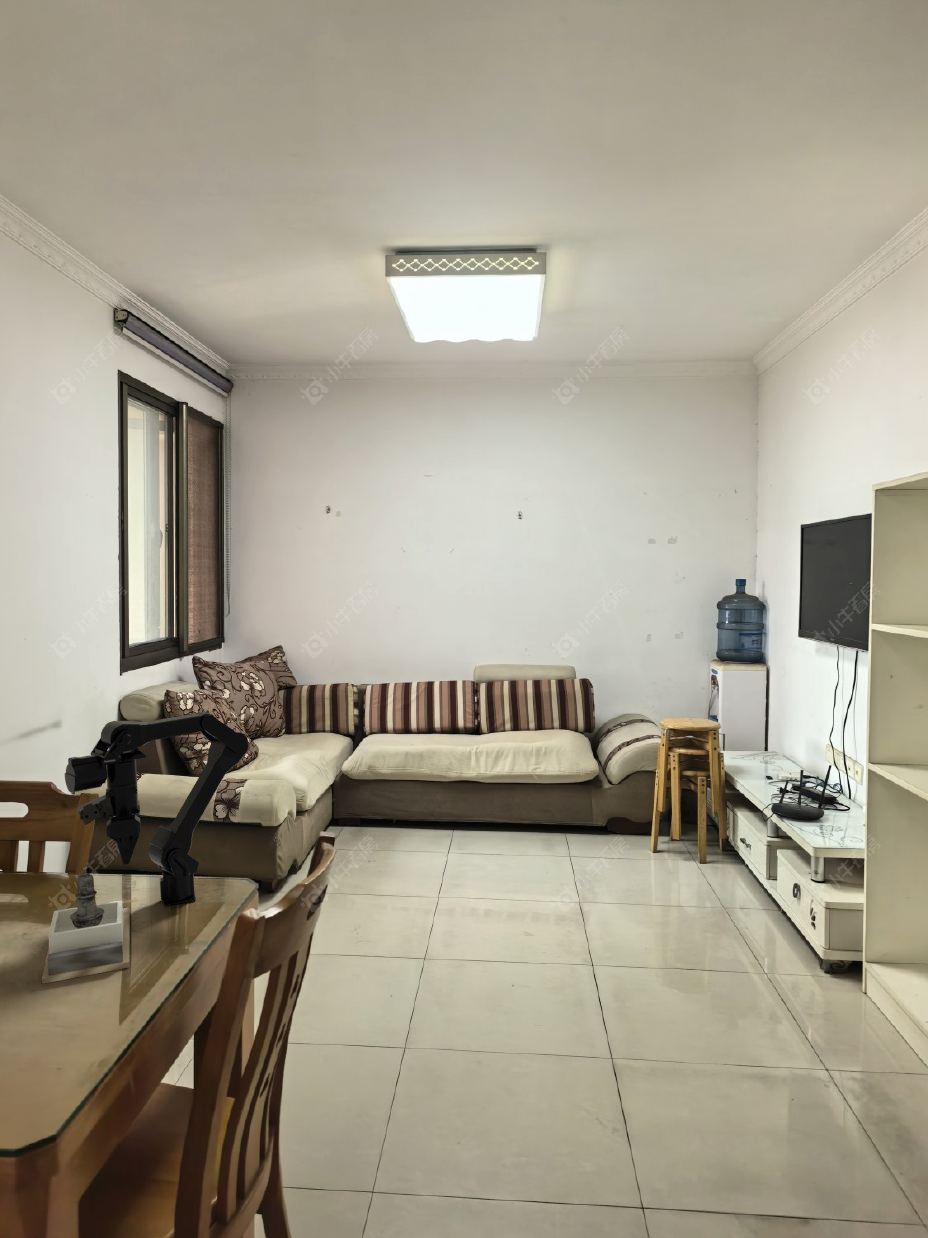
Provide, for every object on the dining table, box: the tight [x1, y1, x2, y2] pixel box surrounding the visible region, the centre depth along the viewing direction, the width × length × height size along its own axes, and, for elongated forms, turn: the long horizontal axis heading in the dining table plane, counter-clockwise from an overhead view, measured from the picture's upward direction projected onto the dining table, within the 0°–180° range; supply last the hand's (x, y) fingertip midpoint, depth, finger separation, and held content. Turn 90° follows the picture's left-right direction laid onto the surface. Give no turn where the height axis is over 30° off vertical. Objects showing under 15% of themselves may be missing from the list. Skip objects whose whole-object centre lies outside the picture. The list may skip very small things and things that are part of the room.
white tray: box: [47, 900, 123, 954], centre depth 156 cm, size 12×12×5 cm
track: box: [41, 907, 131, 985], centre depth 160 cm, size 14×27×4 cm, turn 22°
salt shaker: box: [70, 869, 104, 929], centre depth 156 cm, size 6×6×12 cm
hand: (126, 857), depth 173 cm, fingers open, 9 cm apart
